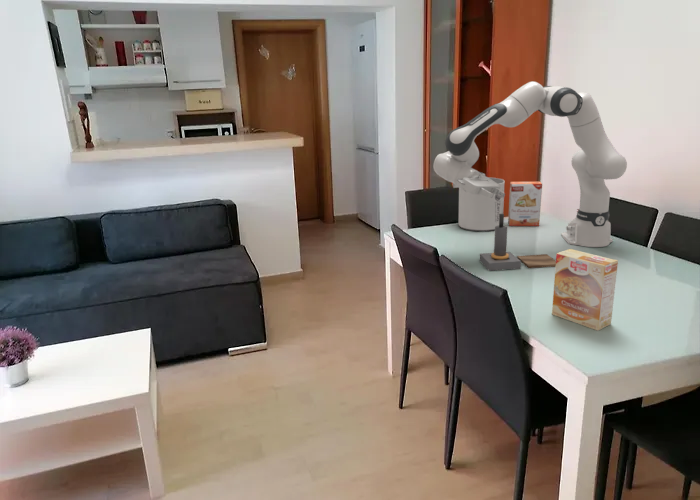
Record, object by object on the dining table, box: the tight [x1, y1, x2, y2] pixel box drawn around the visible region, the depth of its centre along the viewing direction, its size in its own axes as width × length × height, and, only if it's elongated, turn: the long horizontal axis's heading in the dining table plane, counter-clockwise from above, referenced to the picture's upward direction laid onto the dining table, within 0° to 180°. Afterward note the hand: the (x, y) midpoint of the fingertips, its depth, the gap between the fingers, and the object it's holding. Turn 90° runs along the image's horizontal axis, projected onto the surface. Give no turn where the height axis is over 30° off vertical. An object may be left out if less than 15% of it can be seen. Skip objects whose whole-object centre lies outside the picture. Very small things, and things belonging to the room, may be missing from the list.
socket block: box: [479, 251, 522, 272], centre depth 203 cm, size 12×12×3 cm
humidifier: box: [452, 177, 506, 232], centre depth 254 cm, size 22×21×23 cm
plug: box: [491, 213, 509, 260], centre depth 200 cm, size 6×6×20 cm
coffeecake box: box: [551, 248, 619, 332], centre depth 152 cm, size 15×7×20 cm, turn 35°
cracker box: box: [507, 181, 543, 227], centre depth 253 cm, size 14×6×21 cm, turn 81°
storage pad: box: [516, 253, 556, 269], centre depth 204 cm, size 12×12×1 cm
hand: (498, 196), depth 195 cm, fingers open, 8 cm apart
